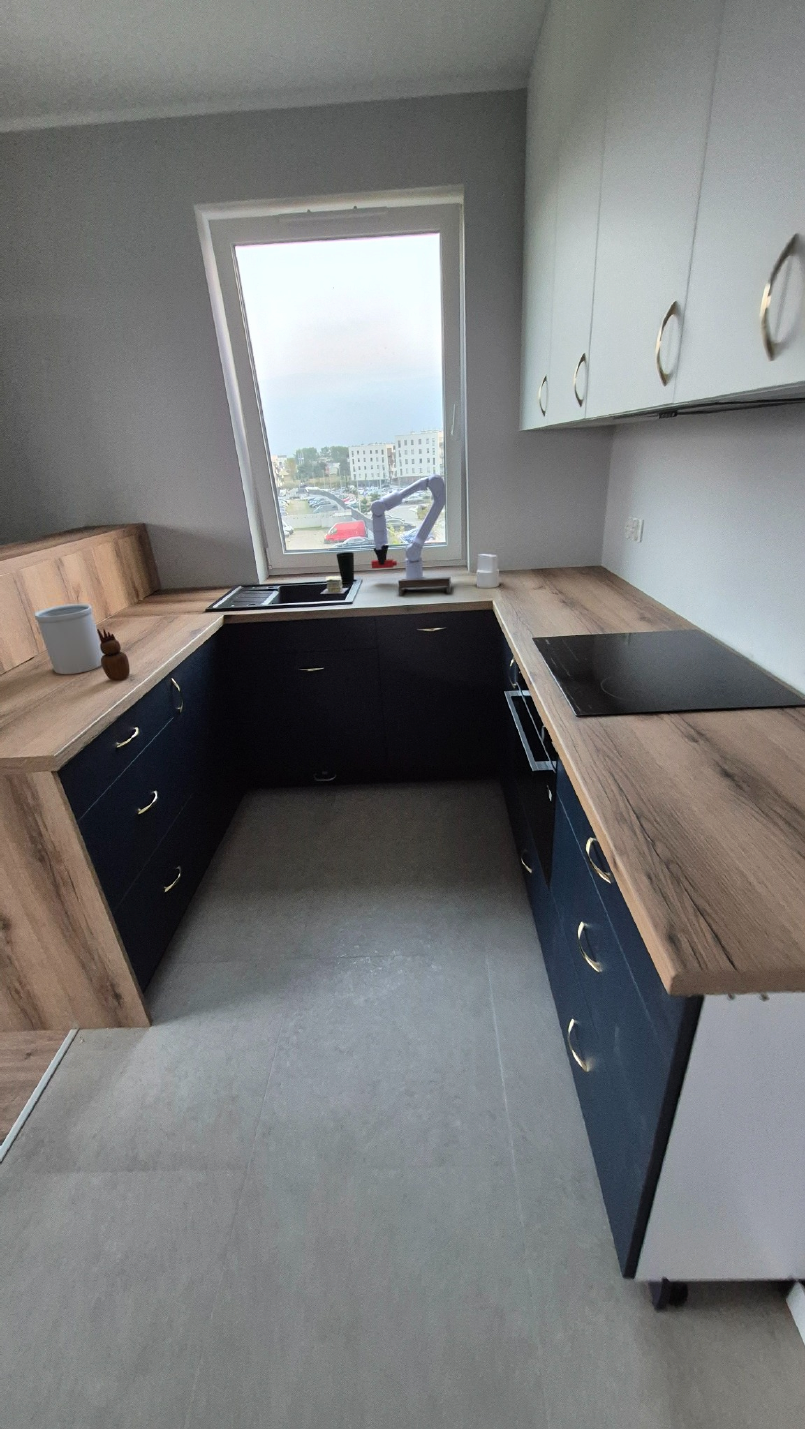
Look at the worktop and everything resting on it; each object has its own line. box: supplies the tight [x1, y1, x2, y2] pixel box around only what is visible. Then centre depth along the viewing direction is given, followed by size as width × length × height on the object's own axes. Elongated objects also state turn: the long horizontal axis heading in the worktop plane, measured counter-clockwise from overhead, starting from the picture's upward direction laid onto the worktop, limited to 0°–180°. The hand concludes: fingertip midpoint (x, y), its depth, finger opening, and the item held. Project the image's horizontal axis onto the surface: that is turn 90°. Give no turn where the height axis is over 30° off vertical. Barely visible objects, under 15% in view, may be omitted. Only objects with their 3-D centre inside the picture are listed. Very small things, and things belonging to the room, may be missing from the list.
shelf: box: [397, 576, 452, 597], centre depth 230 cm, size 12×20×6 cm, turn 84°
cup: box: [336, 551, 355, 583], centre depth 256 cm, size 8×8×12 cm
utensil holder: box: [33, 603, 104, 675], centre depth 170 cm, size 15×15×18 cm
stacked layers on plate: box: [320, 575, 349, 595], centre depth 241 cm, size 10×9×6 cm
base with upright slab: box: [476, 553, 500, 589], centre depth 231 cm, size 9×9×12 cm
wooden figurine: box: [96, 628, 131, 681], centre depth 158 cm, size 7×6×15 cm
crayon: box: [371, 558, 398, 569], centre depth 246 cm, size 3×11×3 cm, turn 83°
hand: (382, 564), depth 246 cm, fingers closed on crayon, 3 cm apart
